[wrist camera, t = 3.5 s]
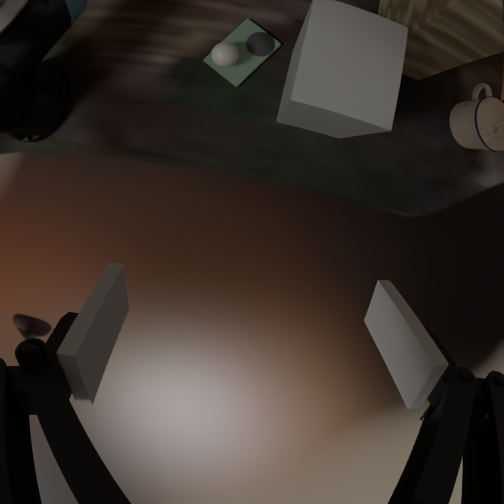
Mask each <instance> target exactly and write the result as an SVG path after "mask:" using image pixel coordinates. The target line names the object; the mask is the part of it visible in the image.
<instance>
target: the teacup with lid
mask: <svg viewBox="0 0 504 504" xmlns="http://www.w3.org/2000/svg"><path fill="white" fill-rule="evenodd" d="M484 88H485V90H486V97H484V98H482V99H478V97H479V93H480V91H481V90H482V89H484ZM450 129H451V132H452V134H453V136H454V138H455V140H456V141H457V142H458V143H459V144H460V145H461V146H463V147H465V148H469V149H484V150H491V151H494V152H501V151H503V150H504V103H502V102H501V101H500V100H499V99H497V98H494V97H492V91H491V88H490V87H489V85H487V84H485V83H480V84H478V85H477V86H476V87H475V89H474V91H473V96H472V100H471V101H465V102H460V103H458V104H456V105H455V106H454V107H453V109H452V111H451V113H450Z"/></svg>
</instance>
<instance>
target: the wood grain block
mask: <svg viewBox="0 0 504 504" xmlns="http://www.w3.org/2000/svg"><path fill="white" fill-rule="evenodd" d="M378 15H379V16H381V17H384V18H386V19H389V20H391V21H393V22H396V23H398V24H401V25H403V26H405V27H407V28H408V34H407V41H406V49H405V56H404V63H403V69H402V74H404V75H406V76H408V77H411V78H413V79H415V80H417V81H419V80H421V79H424V78H426V77H429V76H432V75H435V74H437V73H440V72H443V71H446V70H449V69H451V68H454V67H457V66H460V65H463V64H466V63H469V62H472V61H475V60H478V59H481V58H485V57H488V56H491V55H494V54H498V53H501V52H504V21H503V5H502V0H380V5H379V12H378Z"/></svg>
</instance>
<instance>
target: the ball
mask: <svg viewBox="0 0 504 504" xmlns="http://www.w3.org/2000/svg"><path fill="white" fill-rule="evenodd" d="M238 56H239V53H238V49H237V48H236V46H235V45H233V44H232V43H229V42H222V43H219V44H217V45H216V46H215V47H214V48H213V50H212V53H211V57H212V60H213V62H214V63H215V64H216V65H218V66H221V67H229V66H231V65H233V64H234V63H235V62H236V61H237V59H238Z"/></svg>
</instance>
